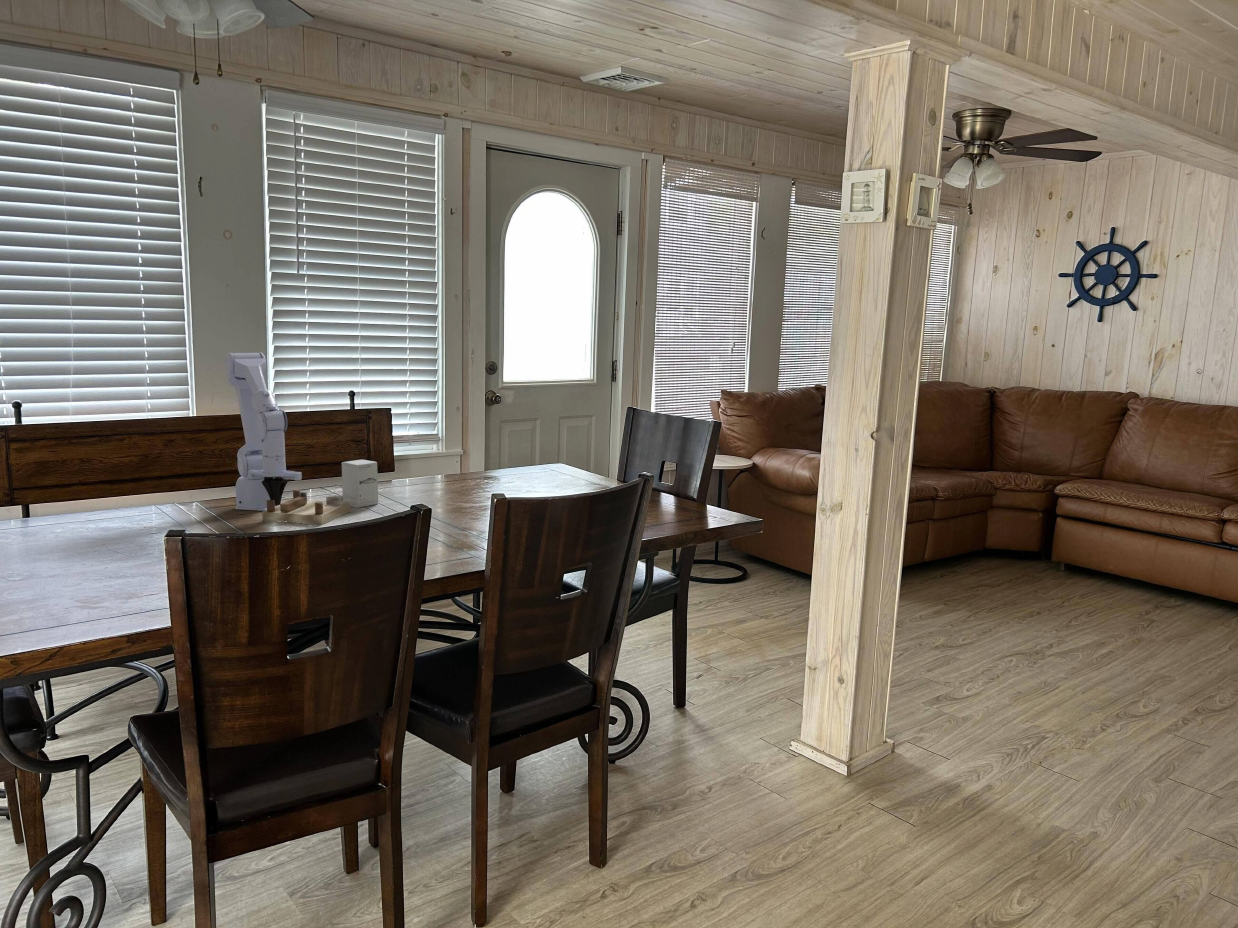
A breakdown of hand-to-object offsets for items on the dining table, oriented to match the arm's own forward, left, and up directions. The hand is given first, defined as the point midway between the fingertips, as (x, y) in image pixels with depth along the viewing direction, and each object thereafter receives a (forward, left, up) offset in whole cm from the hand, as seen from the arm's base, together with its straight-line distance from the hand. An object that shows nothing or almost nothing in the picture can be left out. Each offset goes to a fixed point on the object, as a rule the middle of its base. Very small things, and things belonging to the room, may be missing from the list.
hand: (276, 505), depth 245 cm
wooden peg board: (+7, +4, -3) cm, 9 cm away
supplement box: (+14, +21, -4) cm, 25 cm away
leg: (+4, +2, -1) cm, 5 cm away
